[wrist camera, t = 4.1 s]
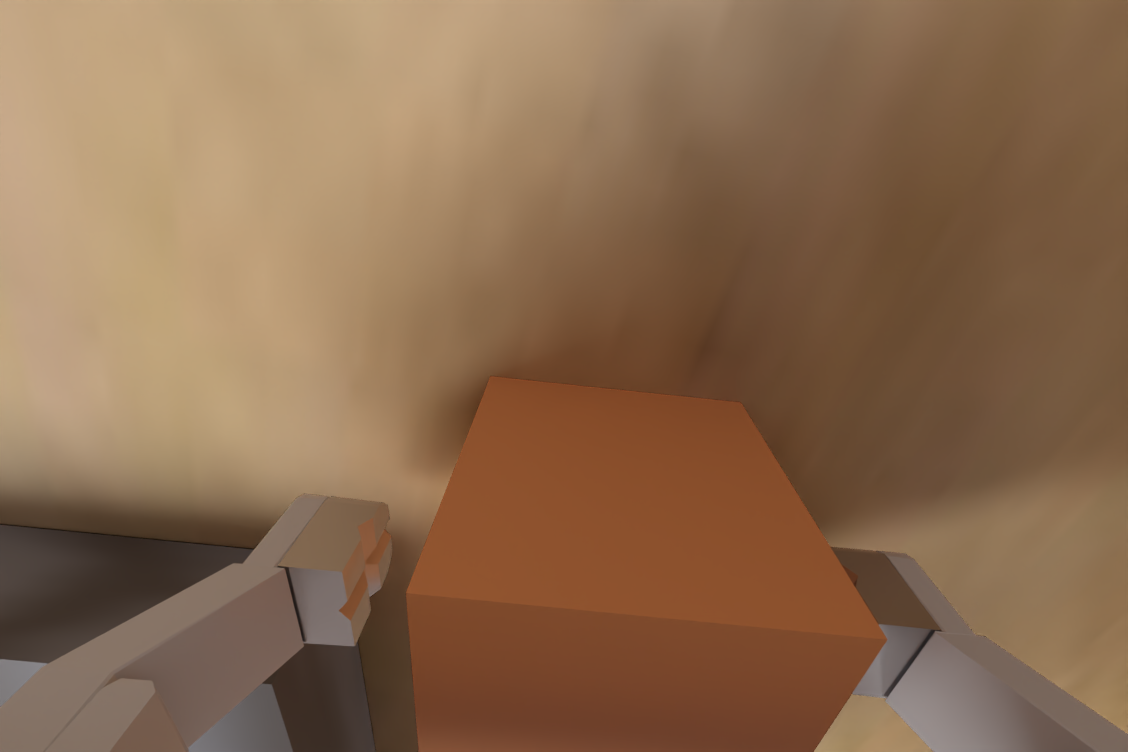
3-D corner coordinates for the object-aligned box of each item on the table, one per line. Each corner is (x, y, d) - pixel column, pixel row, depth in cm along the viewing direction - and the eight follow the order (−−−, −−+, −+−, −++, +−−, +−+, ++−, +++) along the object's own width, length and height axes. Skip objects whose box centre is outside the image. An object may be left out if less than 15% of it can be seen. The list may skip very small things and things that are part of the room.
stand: (344, 558, 11) (271, 684, 9) (381, 790, 17) (344, 912, 14) (-147, 510, 11) (-372, 624, 9) (50, 760, 17) (-51, 878, 14)
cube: (739, 400, 9) (887, 640, 5) (685, 573, 11) (751, 845, 7) (491, 374, 9) (406, 592, 5) (485, 553, 11) (424, 816, 7)
